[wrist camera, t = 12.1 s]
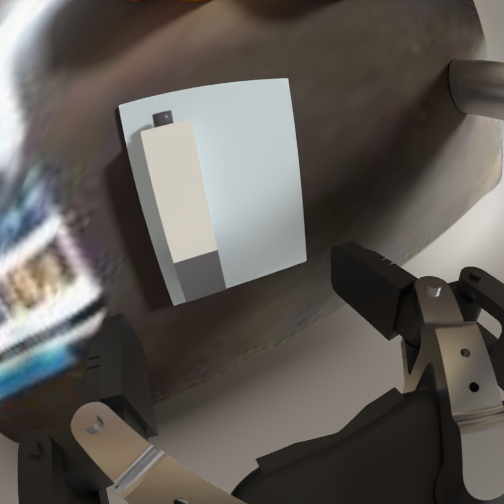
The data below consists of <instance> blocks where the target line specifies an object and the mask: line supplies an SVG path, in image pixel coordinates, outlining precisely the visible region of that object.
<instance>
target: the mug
mask: <svg viewBox="0 0 504 504" xmlns="http://www.w3.org/2000/svg"><path fill="white" fill-rule="evenodd" d="M127 1H140V0H127ZM180 1H185V2H193V1H206V0H180Z"/></svg>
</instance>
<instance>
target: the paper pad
mask: <svg viewBox="0 0 504 504" xmlns="http://www.w3.org/2000/svg"><path fill="white" fill-rule="evenodd" d="M169 110H172V116H173V122H174V123H177V122H181V121H186V120H191V119H192V125H193V130H194V136H195V141H196V147H197V152H198V157H199V162H200V168H201V173H202V178H203V183H204V188H205V193H206V198H207V203H208V207H209V212H210V217H211V222H212V227H213V231H214V236H215V240H216V245H217V250H218V254H219V259H220V263H221V267H222V272H223V276H224V280H225V285H226V289H227V288H230V287H233V286H236V285H239V284H242V283H245V282H247V281H250V280H253V279H256V278H259V277H262V276H265V275H268V274H271V273H274V272H277V271H280V270H282V269H285V268H288V267H291V266H294V265H297V264H300V263H302V262H305V261H307V260H306V243H305V229H304V215H303V203H302V191H301V181H300V170H299V161H298V152H297V143H296V134H295V126H294V118H293V111H292V103H291V96H290V89H289V82H288V78H284V79H265V80H252V81H241V82H232V83H223V84H216V85H209V86H202V87H196V88H191V89H185V90H180V91H175V92H170V93H165V94H161V95H156V96H152V97H148V98H144V99H140V100H136V101H133V102H129V103H125V104H122V105H119V111H120V116H121V121H122V126H123V132H124V136H125V141H126V146H127V150H128V155H129V159H130V164H131V168H132V172H133V176H134V180H135V184H136V188H137V192H138V196H139V199H140V203H141V207H142V210H143V214H144V217H145V221H146V224H147V228H148V231H149V234H150V238H151V241H152V244H153V247H154V250H155V254H156V257H157V260H158V263H159V266H160V269H161V272H162V275H163V278H164V280H165V283H166V286H167V289H168V292H169V295H170V297H171V300H172V303H173V305H177V304H181V303H184V302H186V300H185V297H184V294H183V291H182V288H181V285H180V282H179V279H178V275H177V272H176V269H175V266H174V263H173V259H172V256H171V253H170V249H169V246H168V242H167V239H166V235H165V232H164V228H163V225H162V221H161V217H160V214H159V210H158V206H157V202H156V198H155V194H154V190H153V186H152V182H151V178H150V174H149V169H148V165H147V161H146V156H145V152H144V147H143V142H142V137H141V131H144V130H148V129H152V128H154V123H153V118H152V115H153V114H156V113H160V112H164V111H169Z"/></svg>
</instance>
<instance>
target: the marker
mask: <svg viewBox="0 0 504 504" xmlns="http://www.w3.org/2000/svg"><path fill="white" fill-rule="evenodd" d="M152 118H153V123H154V128H152V129H148V130H144V131H141V137H142V142H143V147H144V152H145V156H146V161H147V165H148V169H149V174H150V178H151V182H152V186H153V190H154V194H155V198H156V202H157V206H158V210H159V214H160V217H161V221H162V225H163V228H164V232H165V235H166V239H167V242H168V246H169V249H170V253H171V256H172V259H173V263H174V266H175V269H176V272H177V275H178V279H179V282H180V285H181V288H182V291H183V294H184V297H185V300H186V302H190V301H193V300H196V299H199V298H202V297H205V296H208V295H211V294H214V293H217V292H220V291H223V290H226V285H225V280H224V276H223V272H222V267H221V263H220V259H219V254H218V250H217V245H216V240H215V236H214V231H213V227H212V222H211V217H210V212H209V207H208V203H207V198H206V193H205V188H204V183H203V178H202V173H201V168H200V162H199V157H198V152H197V147H196V141H195V136H194V130H193V125H192V119H191V120H186V121H181V122H177V123H174V122H173V116H172V110H169V111H164V112H160V113H156V114H153V115H152Z"/></svg>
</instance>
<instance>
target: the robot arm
mask: <svg viewBox="0 0 504 504" xmlns="http://www.w3.org/2000/svg"><path fill="white" fill-rule="evenodd" d="M449 84H450V90H451V94H452V97H453V100H454V102H455V104H456V106H457V108H458V109H459V110H460V111H461V112H463V113H469V114H475V115H480V116H485V117H490V118H495V119H500V120H504V62H495V61H484V60H463V59H454V60H453V61H452V62H451V64H450V67H449ZM331 283H332V286H333V289H334V290H335V292H336V293H337V294H338V295H339V296H340V297H341V298H342V299H343V300H344V301H346V302H347V303H348V304H349V305H350V306H351V307H352V308H353V309H355V310H356V311H357V312H358V313H359V314H360V315H361V316H362V317H363V318H365V319H366V320H367V321H368V322H369V323H370V324H371V325H372V326H373V327H375V328H376V329H377V330H378V331H379V332H380V333H381V334H382V335H383V336H384V337H385V338H386V339H388V340H389V341H390V340H391V339H393V338H394V337H396V336H397V335H399V334H400V335H401V336H402V339H401V350H402V359H403V370H404V389H403V394H401V393H400V392H399V391H398V390H397V389H396V388H395V387H394V388H393V389H391V390H390V391H388V392H387V393H385V394H384V395H382V396H381V397H379V398H378V399H376V400H375V401H373V402H371V403H370V404H368V405H366V407H365V408H363V409H362V410H361V411H360V412H359V413H358V414H357V415H356V416H355V417H354V418H353V419H352V420H351V421H350V422H349V423H348V424H347V425H346V426H345V427H344V428H343V429H342V430H340V431H339V432H337V433H335V434H331V435H328V436H324V437H320V438H316V439H312V440H307V441H303V442H298V443H294V444H292V445H289V446H287V447H285V448H283V449H280V450H278V451H275V452H273V453H270V454H268V455H265V456H262V457H260V458H257V459H256V461H257V463H258V465H259V467H258V468H257V469H255V470H254V471H252V472H251V473H250V474H249V475H247V476H246V477H245V478H244V479H243V480H242V481H241V482H240V483H239V484H238V485H237V486H236V487H235V489H234V490H233V491H232V493H231V495H230V494H228V493H226V492H224V491H223V490H221V489H219V488H217V487H216V486H214V485H212V484H211V483H209V482H207V481H206V480H204V479H202V478H201V477H199V476H198V475H196V474H194V473H193V472H191V471H190V470H188V469H187V468H185V467H184V466H182V465H181V464H180V463H178V462H177V461H175V460H174V459H172V458H171V457H170V456H168V455H167V454H166V453H164V452H163V451H161V450H160V449H158V448H157V447H156V448H155V447H154V446H153V445H151V444H150V443H149V441H148V437H152V436H157V435H158V433H157V428H156V423H155V417H154V411H153V405H152V399H151V393H150V386H149V378H148V370H147V362H146V357H145V353H144V350H143V348H142V345H141V343H140V341H139V340H138V338H137V336H136V334H135V332H134V330H133V328H132V326H131V324H130V322H129V320H128V318H127V316H126V315H125V314H124V313H121V314H118V315H114V316H111V317H108V318H105V319H104V322H103V331H102V334H101V335H97V336H95V338H94V340H93V342H92V343H91V345H90V347H89V355H88V359H89V361H88V364H87V369H88V370H87V375H86V388H85V405H84V406H82V407H81V408H79V409H78V410H77V412H76V413H75V414H74V416H73V418H72V422H71V428H69V429H67V430H65V431H63V432H61V433H59V434H57V435H55V436H53V437H50V436H49V435H47V434H46V433H45V432H43V431H41V430H32V431H29V432H28V433H27V434H25V435H24V437H23V438H22V440H21V441H20V444H19V449H18V496H19V504H109V501H108V496H107V491H106V488H107V487H109V486H111V485H113V484H116V490H117V492H118V493H119V494H120V495H121V496H122V497H123V498H124V499H125V500H126V501H127V502H128V503H129V504H504V401H502V400H501V396H500V392H499V388H498V386H499V387H500V388H502V390H503V391H504V284H503V283H502V282H500V281H499V280H497V279H496V278H494V277H493V276H491V275H490V274H488V273H487V272H485V271H484V270H482V269H479V268H477V267H465V268H463V269H462V270H461V273H460V277H459V280H458V281H455V282H451V283H447V282H445V281H444V280H442V279H440V278H437V277H433V276H425V277H421V278H419V279H417V278H416V277H415V276H413V275H412V274H410V273H409V272H407V271H405V270H404V269H402V268H401V267H399V266H398V265H396V264H393V263H392V262H391V261H390V260H388V259H385V257H383V256H382V255H380V254H378V253H377V252H374V251H371V250H368V249H364V248H362V247H361V246H359V245H358V244H356V243H354V242H353V241H347V242H344V243H341V244H338V245H335V246H333V247H332V250H331ZM482 308H483V309H484V310H485V311H487V312H488V313H489V314H490V315H492V316H493V317H494V318H495V319H497V320H498V321H499V322H500V324H501V326H502V333H501V335H500V337H499V339H497V338H496V337H495V336H494V335H493V334H491V333H490V332H489V331H488V330H487V329H485V328H484V327H483V326H482V325H481V324H479V323H478V322H477V319H478V317H479V314H480V312H481V309H482Z"/></svg>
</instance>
